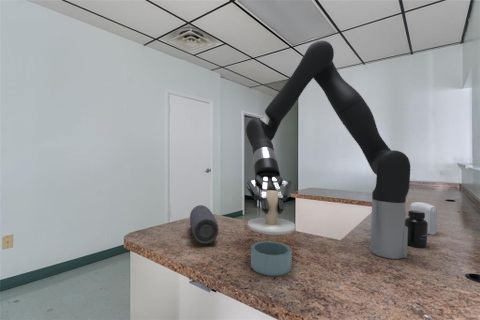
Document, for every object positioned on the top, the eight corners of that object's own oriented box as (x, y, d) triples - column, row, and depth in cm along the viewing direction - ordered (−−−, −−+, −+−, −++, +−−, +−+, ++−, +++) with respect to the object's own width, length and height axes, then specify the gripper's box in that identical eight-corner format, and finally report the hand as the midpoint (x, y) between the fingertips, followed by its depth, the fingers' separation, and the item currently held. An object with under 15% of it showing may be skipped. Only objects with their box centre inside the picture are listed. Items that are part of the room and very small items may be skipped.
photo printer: (407, 228, 109) (408, 200, 109) (415, 227, 110) (416, 200, 110) (429, 235, 99) (431, 205, 99) (438, 235, 100) (439, 205, 100)
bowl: (288, 258, 73) (288, 242, 73) (293, 277, 62) (294, 257, 62) (251, 256, 73) (251, 240, 73) (250, 274, 62) (250, 255, 62)
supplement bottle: (428, 250, 83) (429, 214, 83) (404, 245, 87) (405, 212, 86) (425, 244, 89) (427, 211, 89) (403, 240, 92) (404, 208, 92)
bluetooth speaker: (220, 246, 81) (220, 216, 81) (191, 248, 79) (192, 217, 79) (211, 227, 103) (211, 203, 103) (188, 228, 101) (189, 204, 101)
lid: (291, 221, 74) (293, 188, 73) (298, 236, 61) (300, 196, 60) (248, 219, 75) (249, 187, 74) (246, 233, 62) (247, 193, 61)
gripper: (244, 155, 74) (249, 204, 62) (290, 157, 75) (303, 204, 63) (242, 172, 79) (246, 219, 67) (284, 173, 81) (295, 219, 69)
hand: (273, 212), depth 65 cm, fingers closed on lid, 3 cm apart
